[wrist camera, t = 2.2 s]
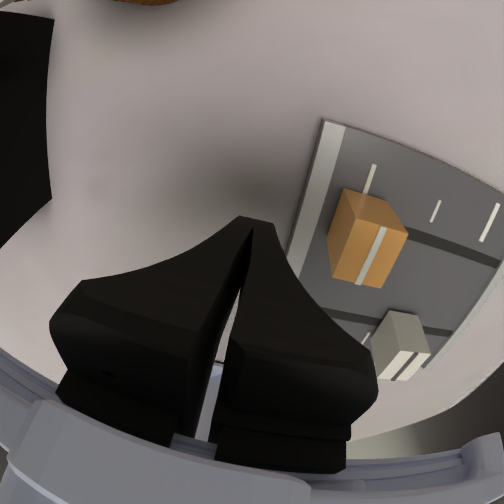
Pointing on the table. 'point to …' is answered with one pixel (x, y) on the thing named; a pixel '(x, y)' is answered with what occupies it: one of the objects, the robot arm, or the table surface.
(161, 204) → the table surface
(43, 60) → the uninterruptible power supply
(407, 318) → the fader
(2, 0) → the disposable coffee cup
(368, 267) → the block
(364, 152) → the fader board
